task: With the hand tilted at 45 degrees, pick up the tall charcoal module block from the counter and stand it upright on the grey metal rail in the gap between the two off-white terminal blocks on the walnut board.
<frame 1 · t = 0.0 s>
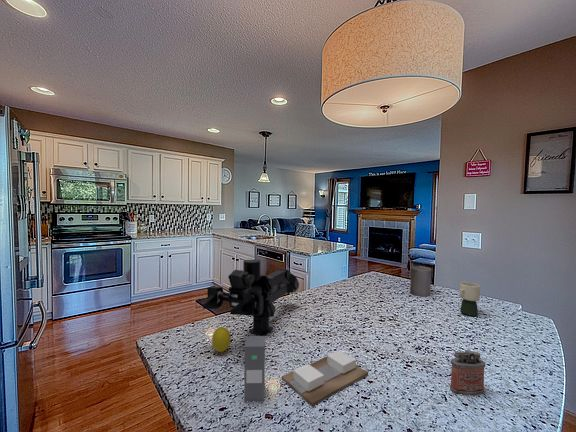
hand: (216, 309, 76), 17 cm above the counter, tool horizontal, fingers open, 9 cm apart
pillar candle: (420, 294, 144), on the counter
lemon: (221, 353, 85), on the counter
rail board: (325, 377, 73), on the counter
rail: (325, 373, 73), on the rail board, point 1 cm above the counter
lighter: (466, 391, 69), on the counter
terminal blocks: (325, 368, 73), on the rail, point 2 cm above the counter
module: (254, 394, 66), on the counter
character mug: (468, 314, 118), on the counter
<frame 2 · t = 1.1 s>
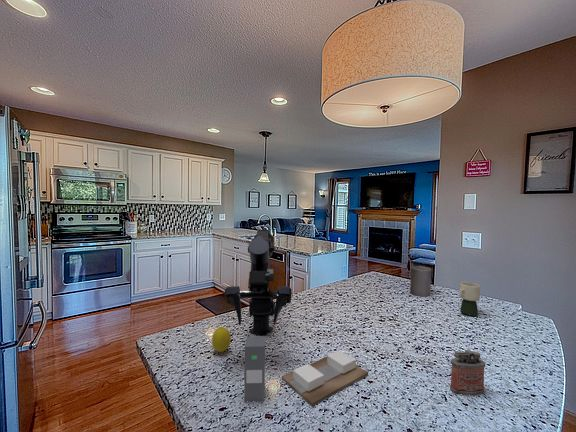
hand: (257, 324, 74), 14 cm above the counter, tool tilted 45°, fingers open, 9 cm apart
nothing on the counter moved.
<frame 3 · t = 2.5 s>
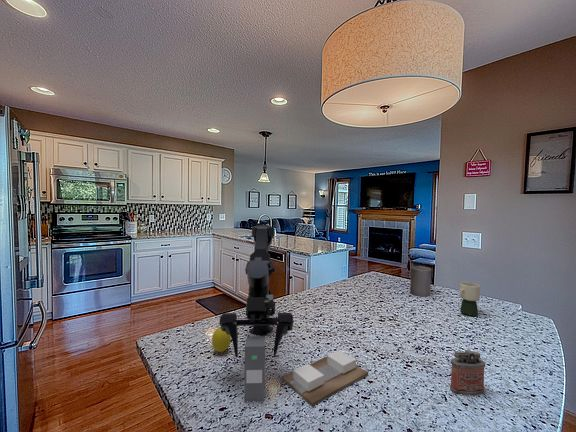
hand: (255, 357, 67), 9 cm above the counter, tool tilted 45°, fingers open, 9 cm apart
nothing on the counter moved.
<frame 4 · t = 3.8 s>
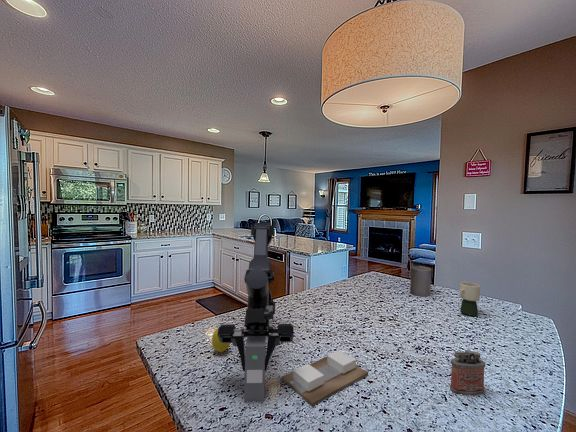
hand: (254, 370, 65), 7 cm above the counter, tool tilted 45°, fingers closed on module, 5 cm apart
module: (254, 394, 66), on the counter, touching gripper
everything else where it was.
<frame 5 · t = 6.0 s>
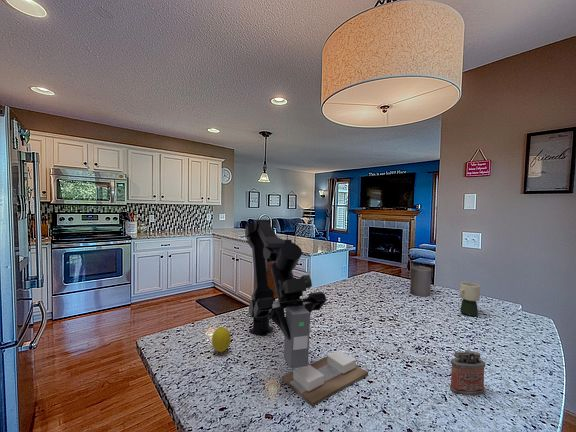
hand: (299, 337, 67), 13 cm above the counter, tool tilted 45°, fingers closed on module, 5 cm apart
module: (295, 361, 69), point 7 cm above the counter, touching gripper
everything else where it was.
when the fingers open (9 cm above the counter, at t = 8.1 s): module drops 1 cm, resting on rail.
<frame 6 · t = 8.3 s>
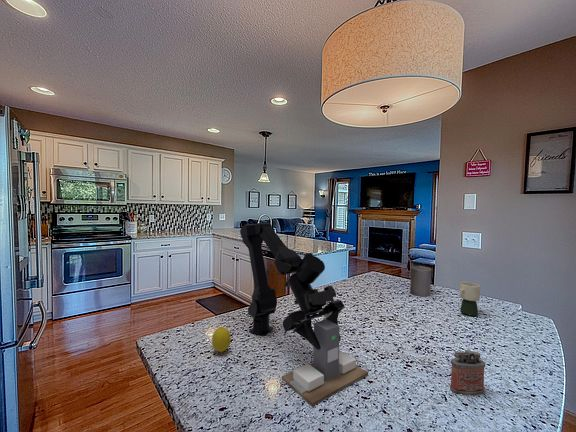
hand: (329, 345, 72), 9 cm above the counter, tool tilted 45°, fingers open, 7 cm apart
module: (325, 372, 73), point 1 cm above the counter, touching rail
everything else where it was.
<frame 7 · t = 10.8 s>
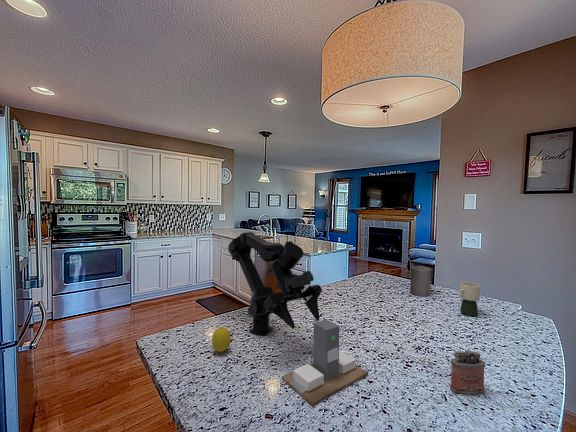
hand: (306, 323, 79), 12 cm above the counter, tool tilted 45°, fingers open, 9 cm apart
nothing on the counter moved.
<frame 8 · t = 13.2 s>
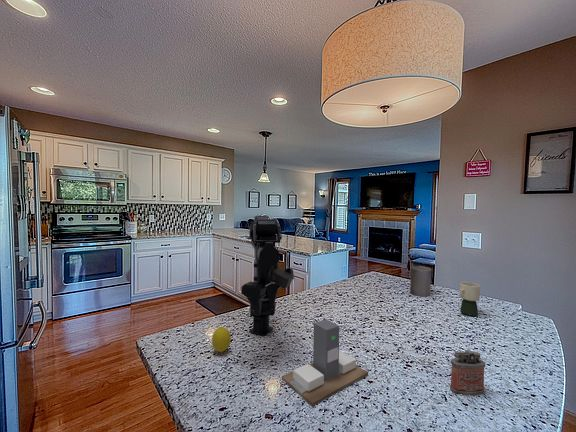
hand: (265, 310, 85), 13 cm above the counter, tool pointing down, fingers open, 9 cm apart
nothing on the counter moved.
at the end: module 0.0 cm off-centre on the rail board, point 1.2 cm above the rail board's base; module tilted 0°; the gripper is holding nothing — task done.
